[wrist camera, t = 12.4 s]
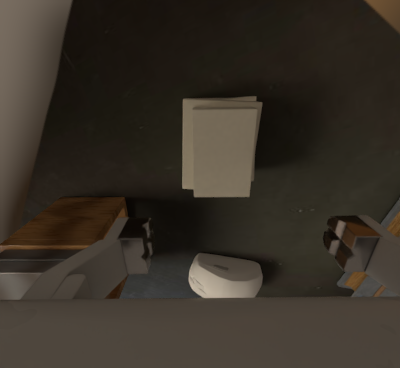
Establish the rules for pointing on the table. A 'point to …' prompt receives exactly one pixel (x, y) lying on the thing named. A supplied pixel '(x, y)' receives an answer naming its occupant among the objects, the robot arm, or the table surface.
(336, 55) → the table surface
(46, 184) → the table surface
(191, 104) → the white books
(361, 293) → the book
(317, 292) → the table surface
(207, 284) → the computer mouse
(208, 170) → the beige flat block
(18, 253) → the oak stand
